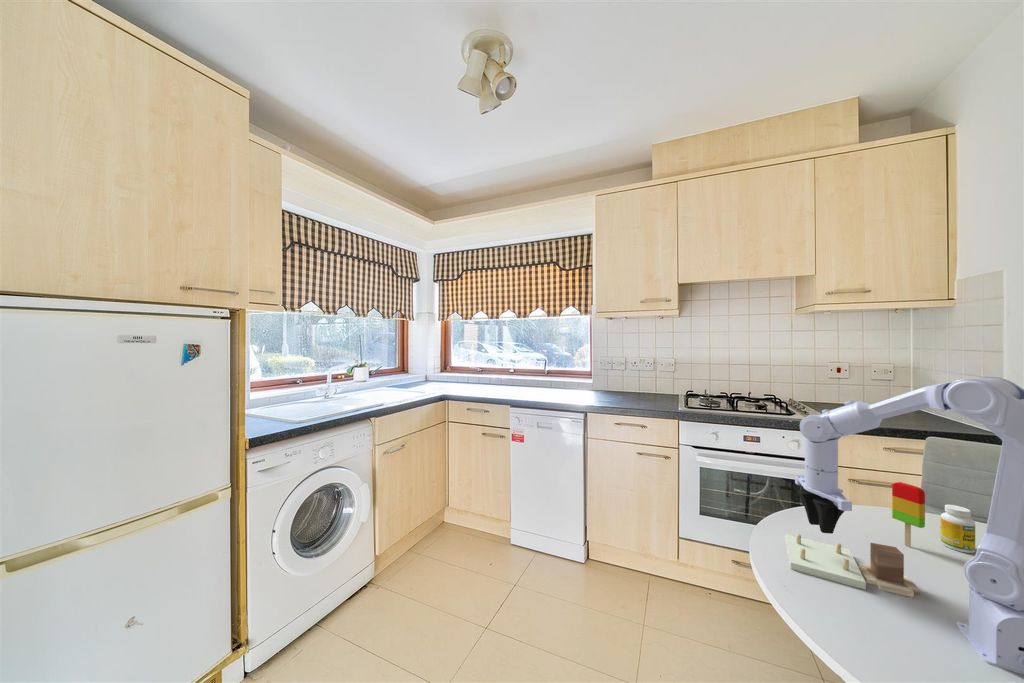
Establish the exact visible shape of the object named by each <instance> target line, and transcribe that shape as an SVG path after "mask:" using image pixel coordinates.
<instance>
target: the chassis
mask: <svg viewBox="0 0 1024 683" xmlns="http://www.w3.org/2000/svg"><path fill="white" fill-rule="evenodd" d="M784 542H785V547H786V551H787V557H788V562H789V567H790V570H793V571H796V572H800V573H803V574H807V575H811V576H814V577H818V578H821V579H825V580H828V581H829V580H830V581H832V582H836V583H840V584H843V585H847V586H850V587H853V588H858V589H861V590H864V591H865V590H867V589H866V588H867V583H866V581H865V580H864V578H863V576H862V574H861V572H860V570H859V568H858V566H859V565H858V564H857V562H856V560H855V558H854V556H853V554H852V551H851V550H850V548H846V547H842V544H841V543H840V542H836V543H835V545H833V544H830V543H829V544H828V543H826V542H820V541H816V540H812V539H807V538H804V537H802V535H801V534H798V533H796V534H795V536H794V535H790V534H786V533H785V534H784Z"/></svg>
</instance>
